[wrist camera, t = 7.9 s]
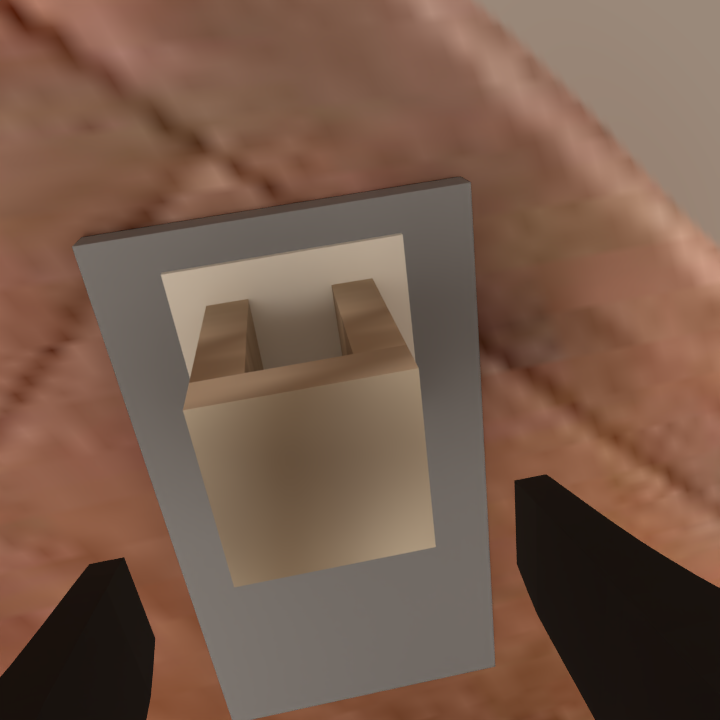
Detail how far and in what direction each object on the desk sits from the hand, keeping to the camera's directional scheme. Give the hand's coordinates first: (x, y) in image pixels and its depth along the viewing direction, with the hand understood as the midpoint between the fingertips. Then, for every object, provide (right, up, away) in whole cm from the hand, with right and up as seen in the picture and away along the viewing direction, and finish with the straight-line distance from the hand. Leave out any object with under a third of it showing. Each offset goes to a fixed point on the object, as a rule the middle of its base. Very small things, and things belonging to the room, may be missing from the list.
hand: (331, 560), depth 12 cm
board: (-1, -1, +11) cm, 11 cm away
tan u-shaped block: (-1, +4, +8) cm, 8 cm away
